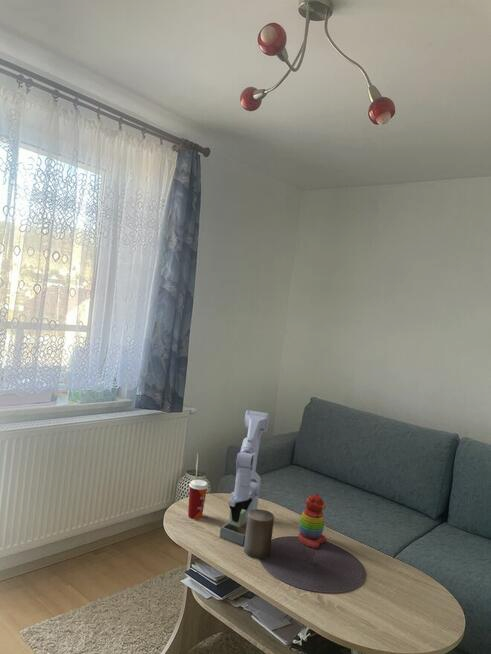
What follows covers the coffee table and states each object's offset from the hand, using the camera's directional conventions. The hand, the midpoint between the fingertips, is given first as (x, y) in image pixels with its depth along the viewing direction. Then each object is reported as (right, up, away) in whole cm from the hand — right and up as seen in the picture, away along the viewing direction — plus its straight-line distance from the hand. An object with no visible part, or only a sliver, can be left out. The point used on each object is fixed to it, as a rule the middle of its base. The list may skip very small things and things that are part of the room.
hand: (238, 519), depth 182 cm
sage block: (-1, -2, 0) cm, 2 cm away
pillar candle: (+7, -9, -8) cm, 13 cm away
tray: (0, -7, +3) cm, 8 cm away
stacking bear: (+28, -11, +6) cm, 31 cm away
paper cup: (-18, -5, +15) cm, 24 cm away
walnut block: (+1, -7, +6) cm, 9 cm away
